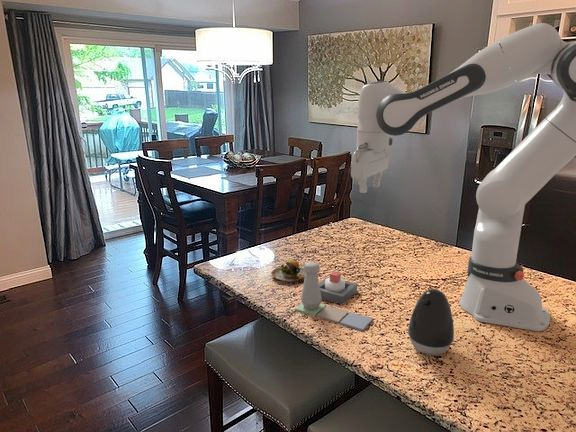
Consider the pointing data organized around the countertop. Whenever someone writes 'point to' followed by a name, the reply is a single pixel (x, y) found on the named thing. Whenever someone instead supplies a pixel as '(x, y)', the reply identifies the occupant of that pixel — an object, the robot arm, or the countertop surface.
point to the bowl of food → (289, 272)
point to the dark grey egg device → (431, 323)
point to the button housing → (338, 297)
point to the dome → (335, 282)
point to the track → (338, 316)
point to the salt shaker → (311, 287)
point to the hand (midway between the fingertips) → (369, 189)
